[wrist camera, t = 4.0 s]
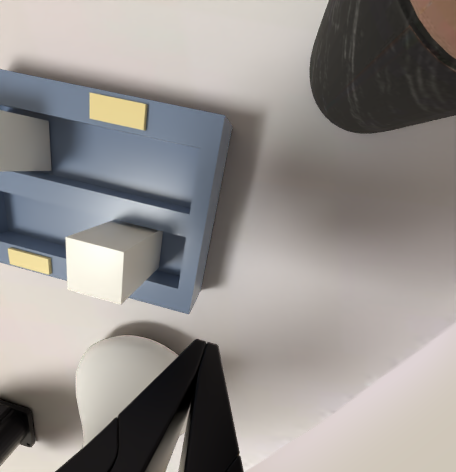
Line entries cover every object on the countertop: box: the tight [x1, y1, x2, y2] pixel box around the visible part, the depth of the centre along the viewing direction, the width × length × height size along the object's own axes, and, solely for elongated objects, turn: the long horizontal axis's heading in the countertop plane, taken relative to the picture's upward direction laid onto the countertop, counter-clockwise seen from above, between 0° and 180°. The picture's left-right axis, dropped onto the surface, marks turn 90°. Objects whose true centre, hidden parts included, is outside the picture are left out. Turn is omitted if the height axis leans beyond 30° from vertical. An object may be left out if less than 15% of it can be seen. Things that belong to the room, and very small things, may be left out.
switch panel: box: [0, 69, 233, 314], centre depth 14 cm, size 12×16×3 cm
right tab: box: [65, 220, 163, 305], centre depth 13 cm, size 3×3×4 cm
